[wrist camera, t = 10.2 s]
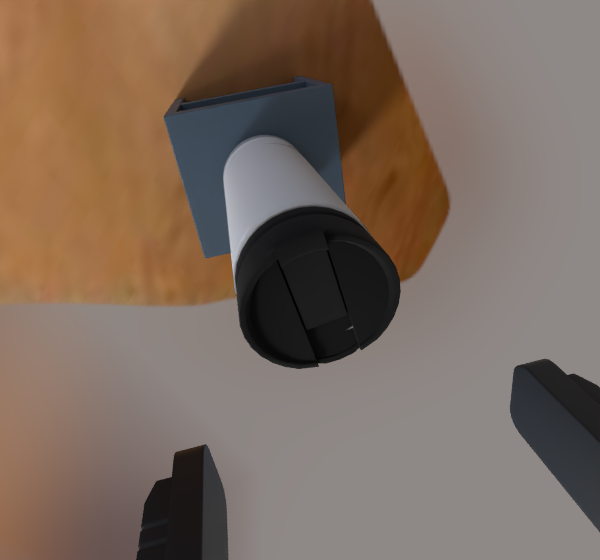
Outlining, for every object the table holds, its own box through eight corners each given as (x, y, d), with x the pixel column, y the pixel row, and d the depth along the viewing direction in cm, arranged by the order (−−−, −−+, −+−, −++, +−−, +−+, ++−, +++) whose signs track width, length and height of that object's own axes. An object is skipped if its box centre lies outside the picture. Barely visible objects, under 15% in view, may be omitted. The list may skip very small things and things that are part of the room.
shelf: (175, 99, 40) (162, 116, 30) (301, 75, 41) (332, 83, 31) (206, 211, 46) (204, 258, 35) (317, 187, 47) (348, 227, 36)
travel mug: (289, 116, 31) (387, 198, 14) (315, 200, 35) (422, 350, 17) (207, 147, 31) (203, 267, 14) (241, 228, 35) (273, 407, 17)
